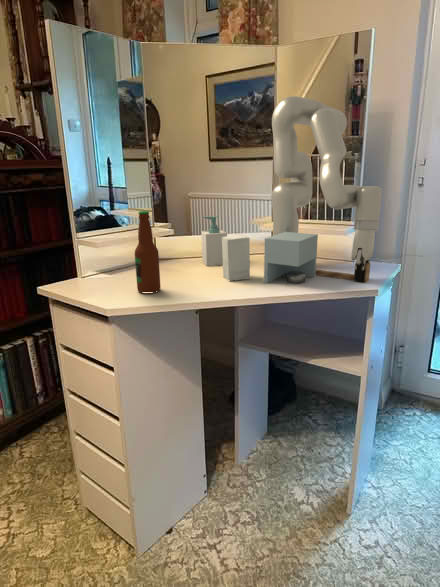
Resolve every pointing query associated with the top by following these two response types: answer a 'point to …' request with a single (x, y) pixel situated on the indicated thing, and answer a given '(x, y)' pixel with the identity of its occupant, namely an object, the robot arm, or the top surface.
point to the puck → (296, 277)
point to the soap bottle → (212, 244)
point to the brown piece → (345, 275)
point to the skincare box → (236, 257)
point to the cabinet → (290, 255)
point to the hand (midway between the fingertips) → (361, 279)
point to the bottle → (146, 257)
